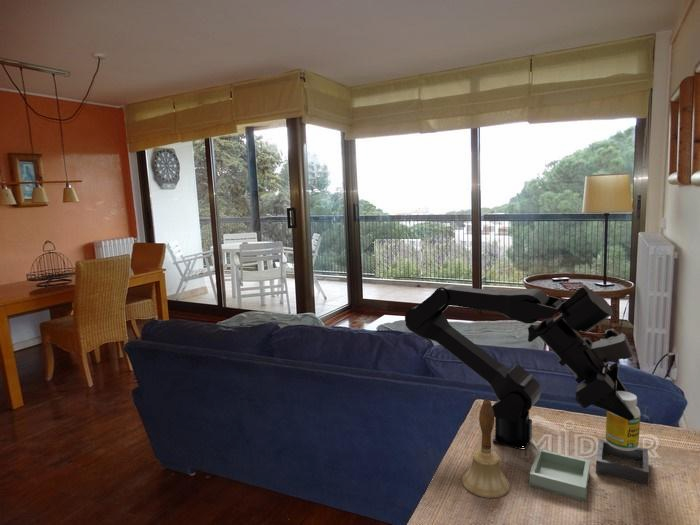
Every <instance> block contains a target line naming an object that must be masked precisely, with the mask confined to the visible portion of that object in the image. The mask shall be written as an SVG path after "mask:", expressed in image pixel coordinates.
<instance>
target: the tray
mask: <svg viewBox="0 0 700 525" xmlns="http://www.w3.org/2000/svg"><path fill="white" fill-rule="evenodd" d="M531 465H532V466H531V469H530V471H529V479H528V480H529V483H528V486H529V487H530V488H535V489H538V490H541V491H546V492H548V493H552V494H556V495H560V496H563V497H568V498H571V499H575V500H579V501H582V502H586V499H587V492H588V486H589V478H590V473H591V471H590V470H591V467H590V466H591V460H589V459H586V458H581V457H576V456H572V455H568V454H563V453H560V452H556V451H551V450H546V449H543V448H542V449H541V448H537V451H536V454H535V456H534V460H533V462H532V464H531Z"/></svg>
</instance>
